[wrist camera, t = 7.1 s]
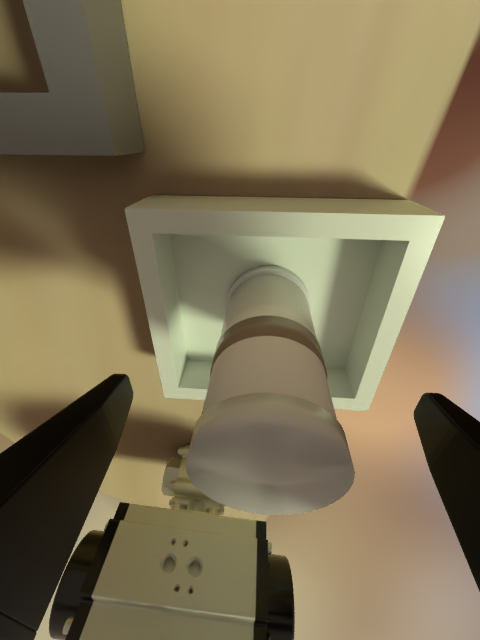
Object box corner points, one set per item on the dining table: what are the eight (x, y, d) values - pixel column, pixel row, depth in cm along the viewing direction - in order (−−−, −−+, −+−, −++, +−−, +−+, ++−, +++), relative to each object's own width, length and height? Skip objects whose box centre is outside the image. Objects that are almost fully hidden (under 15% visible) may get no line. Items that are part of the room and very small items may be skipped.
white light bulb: (227, 333, 14) (193, 507, 8) (226, 263, 12) (176, 418, 5) (303, 337, 14) (335, 520, 7) (314, 266, 12) (375, 432, 5)
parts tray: (177, 363, 16) (164, 397, 14) (151, 195, 11) (124, 208, 9) (353, 373, 16) (368, 411, 14) (409, 199, 11) (445, 215, 9)
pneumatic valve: (275, 482, 23) (281, 747, 13) (135, 463, 23) (36, 711, 13) (287, 443, 20) (309, 751, 10) (127, 422, 20) (-11, 705, 10)
